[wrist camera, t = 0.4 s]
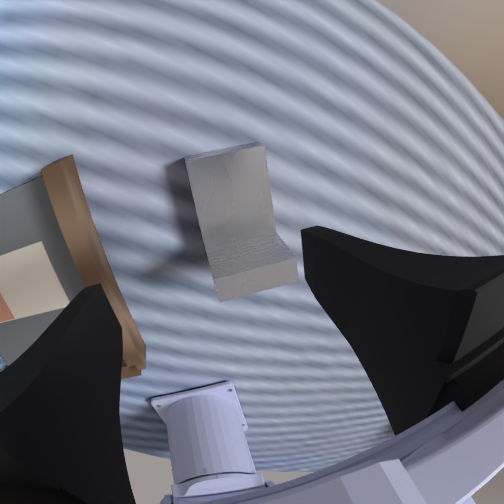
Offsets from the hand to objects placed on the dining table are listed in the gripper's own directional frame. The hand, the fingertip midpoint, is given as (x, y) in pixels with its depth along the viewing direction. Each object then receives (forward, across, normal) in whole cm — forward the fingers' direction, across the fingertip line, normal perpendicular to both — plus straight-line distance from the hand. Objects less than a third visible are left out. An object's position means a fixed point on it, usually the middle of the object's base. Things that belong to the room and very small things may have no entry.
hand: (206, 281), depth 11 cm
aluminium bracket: (+10, -3, +1) cm, 10 cm away
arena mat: (+10, +14, +3) cm, 17 cm away
